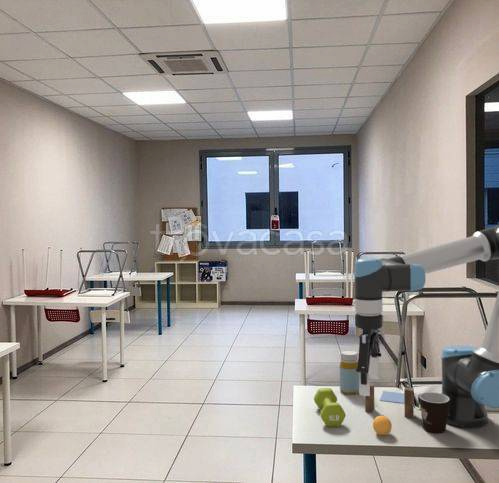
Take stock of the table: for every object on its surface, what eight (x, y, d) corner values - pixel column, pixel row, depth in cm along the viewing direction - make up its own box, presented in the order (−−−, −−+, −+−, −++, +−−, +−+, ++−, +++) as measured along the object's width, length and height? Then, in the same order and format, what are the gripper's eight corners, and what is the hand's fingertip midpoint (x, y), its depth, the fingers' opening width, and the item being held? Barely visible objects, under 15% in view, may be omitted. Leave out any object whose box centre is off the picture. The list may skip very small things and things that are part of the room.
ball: (392, 431, 149) (392, 414, 149) (390, 439, 144) (390, 421, 144) (374, 428, 151) (374, 411, 151) (371, 436, 146) (371, 418, 146)
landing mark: (408, 394, 177) (408, 393, 177) (406, 403, 169) (406, 403, 169) (383, 391, 181) (383, 390, 181) (379, 400, 173) (379, 400, 173)
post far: (374, 409, 165) (374, 383, 165) (373, 412, 163) (372, 386, 162) (366, 408, 166) (366, 382, 166) (365, 411, 164) (365, 385, 163)
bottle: (351, 397, 176) (350, 356, 175) (336, 391, 182) (335, 352, 181) (363, 392, 181) (362, 352, 180) (348, 387, 186) (347, 348, 185)
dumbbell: (346, 428, 153) (346, 405, 152) (321, 429, 152) (320, 406, 152) (336, 406, 169) (336, 386, 169) (313, 407, 169) (312, 387, 168)
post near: (413, 414, 160) (413, 387, 160) (412, 417, 158) (412, 390, 157) (405, 413, 161) (405, 386, 161) (404, 416, 159) (404, 389, 158)
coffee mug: (452, 436, 145) (452, 403, 144) (421, 435, 146) (421, 402, 146) (444, 419, 156) (444, 389, 155) (415, 418, 158) (415, 388, 157)
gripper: (364, 303, 151) (365, 371, 153) (344, 322, 128) (346, 400, 130) (389, 305, 148) (390, 373, 149) (373, 324, 125) (374, 404, 127)
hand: (369, 386), depth 140 cm, fingers open, 13 cm apart
